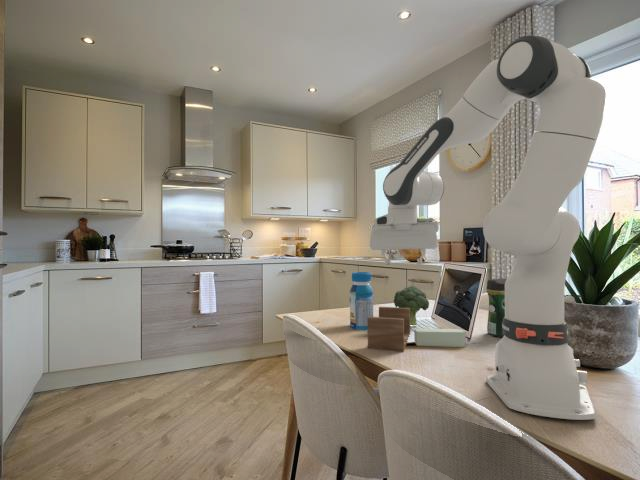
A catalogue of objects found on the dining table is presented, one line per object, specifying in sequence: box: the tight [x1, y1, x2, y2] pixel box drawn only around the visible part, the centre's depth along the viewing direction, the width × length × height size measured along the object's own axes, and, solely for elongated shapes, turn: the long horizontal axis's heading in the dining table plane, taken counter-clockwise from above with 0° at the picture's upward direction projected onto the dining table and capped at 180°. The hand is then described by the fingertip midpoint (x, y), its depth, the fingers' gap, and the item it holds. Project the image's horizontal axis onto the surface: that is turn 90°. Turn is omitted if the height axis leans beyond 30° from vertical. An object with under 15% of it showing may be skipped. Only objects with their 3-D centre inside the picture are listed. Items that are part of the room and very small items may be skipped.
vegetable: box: [393, 285, 430, 326], centre depth 135 cm, size 12×13×15 cm
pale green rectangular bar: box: [413, 328, 467, 348], centre depth 112 cm, size 14×4×4 cm, turn 86°
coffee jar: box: [486, 277, 507, 338], centre depth 124 cm, size 10×8×19 cm
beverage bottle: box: [349, 271, 375, 331], centre depth 133 cm, size 8×8×20 cm
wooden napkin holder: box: [367, 306, 411, 353], centre depth 116 cm, size 20×10×9 cm, turn 161°
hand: (403, 264), depth 115 cm, fingers open, 8 cm apart
